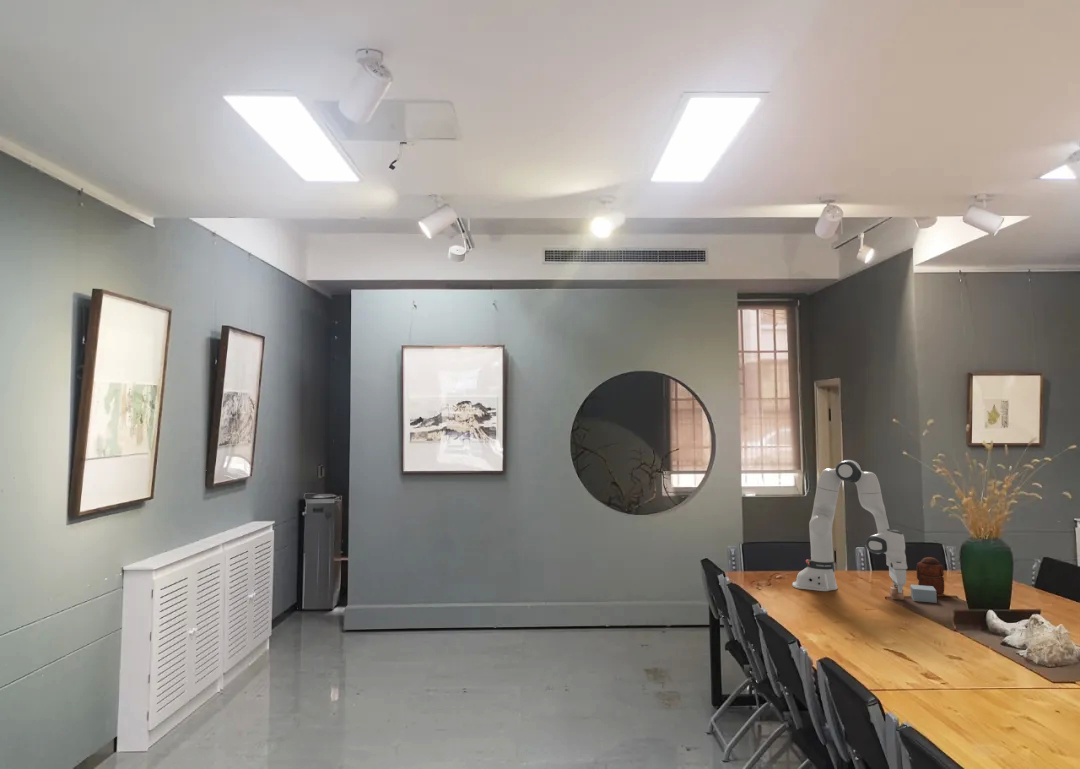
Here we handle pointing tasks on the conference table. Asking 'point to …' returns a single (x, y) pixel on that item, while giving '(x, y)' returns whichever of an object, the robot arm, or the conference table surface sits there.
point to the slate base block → (923, 593)
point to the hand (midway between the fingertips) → (898, 590)
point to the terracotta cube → (896, 593)
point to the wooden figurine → (931, 574)
